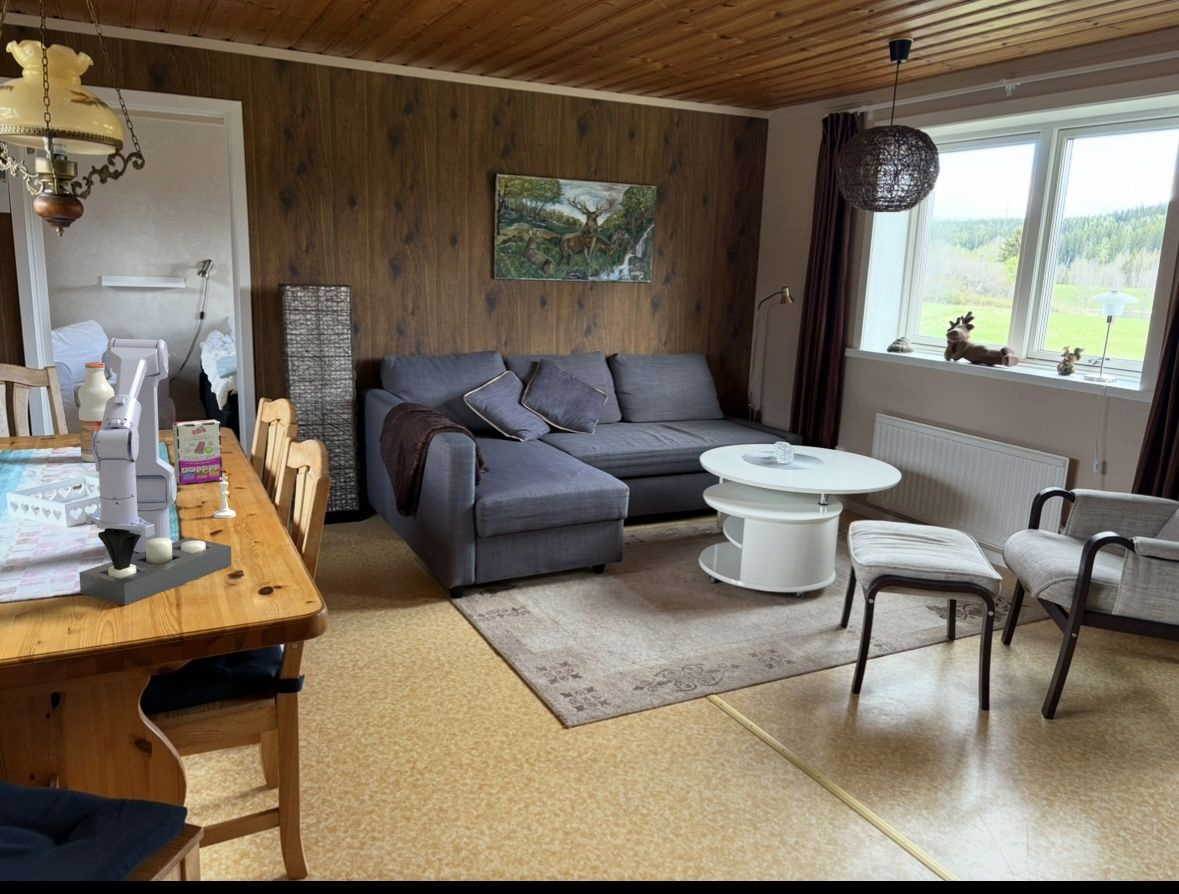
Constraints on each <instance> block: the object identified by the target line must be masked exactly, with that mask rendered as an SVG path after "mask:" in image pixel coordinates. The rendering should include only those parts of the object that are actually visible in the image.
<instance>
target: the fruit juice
mask: <svg viewBox="0 0 1179 894" xmlns="http://www.w3.org/2000/svg"><path fill="white" fill-rule="evenodd" d="M84 367H85V370H86V373H85V374H86V376H85V378H84V382H83V384H82V385H81V386H80V387H79V389H78V392H77V393H78V394H77V395H78V400H79V402H80V406H79V409H78V422H79V423H78V425H79V440H80V443H79V444H80V456H81V460H82V461H84V462H87V463H95V459H94V456H93V449H92V441H93V435H94V433H95V432H99V430H100V429H101V424H102V420H103V415H104V411H105V407H106V402H107V401H108V399H110V398H111V397H113V396H115V390H114V388H113V387H112V386H111V384H110V383H109V382H108V380H107V378H106V375H105V369H106V364H105V363H104V362H97V361H96V362H95V361H94V362H86V363H85V364H84Z"/></svg>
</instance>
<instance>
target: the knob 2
mask: <svg viewBox="0 0 1179 894" xmlns="http://www.w3.org/2000/svg"><path fill="white" fill-rule="evenodd" d="M204 549H206V545H205V542H204V541H187V542H184V543H182V544H181V551H184V552H189V553H195V552H198V551H201V550H204Z"/></svg>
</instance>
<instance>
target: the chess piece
mask: <svg viewBox="0 0 1179 894" xmlns="http://www.w3.org/2000/svg"><path fill="white" fill-rule="evenodd" d="M227 479H229V478H228V476H226V474H223V473H222V477H220V480H222V481H219V483H218V485H219V487H220V491H219V492H218V494H219V495H221V501H220V507H219V509H218V510H216V511H214V512H213V518H214V519H215V518H216V519H221V520H222V519H231V518H234V517H235V516H237V515H236V511H235V510H233V509H230V508H229V506H228V499H227V495H228V494H230V492H229V490H228V489H227V488H228V486H229V482H228V481H226V480H227Z"/></svg>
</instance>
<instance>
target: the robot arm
mask: <svg viewBox="0 0 1179 894" xmlns="http://www.w3.org/2000/svg"><path fill="white" fill-rule="evenodd" d="M106 357H107V358H106V359H107V364H108V366H109V368H110V369H111V371H112V373H114V374H115V375H116V379H115V390H114V393H115V396H113V397H111V398H110V399H108V401H107V402H106V407H105V411H104V415H103V420H102V424H101V429H100V430H99V432H95V433H94V435H93V441H92V449H93V456H94V459H95V462H94V463H95V472H97V473H98V484H99V485H98V487H99V502H100V512H98V511H92V512H90V513H86V514H85V523H86V525H87V526H93V525H95V526H96V528H98V529H102V530H103V531H100V532H98V535H97V536H98V538H99V539H100V541H101V542H102V543H103V545H104V547H105V548H106V550H107V553H108V555H109V558H110V559H111V562H112V563H113V566H114V569H117V570H122V569H125V568H128V567H130V563H131V559H132V555H134V553H135V552H136V553H141V552H144V551H146V541H147V540H150V539H154V538H169V539H171V531H170V530H171V528H170V525H171V524H170V505H173V504H174V502H175V501H176V500H177V492H178V490H177V489H178V487H177V484H178V483H177V482H176V478H175V467H174V466H173V465H171V464H170V463H168V462H166V461H164V460H163V459H162V458H161V457H160V441H159V440H160V438H159V437H160V434H159V432H160V431H159V407H158V406H159V405H158V387H159V383H160V381H161V380H165V379H167V378H168V374H169V351H168V345H167V342H166V341H164V340H163V339H139V338H137V339H135V338H133V339H132V338H117V337H112V338H111V339H110V340H109V341H108V343H107V348H106ZM173 542H176V541H174V540H172V543H173Z"/></svg>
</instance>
